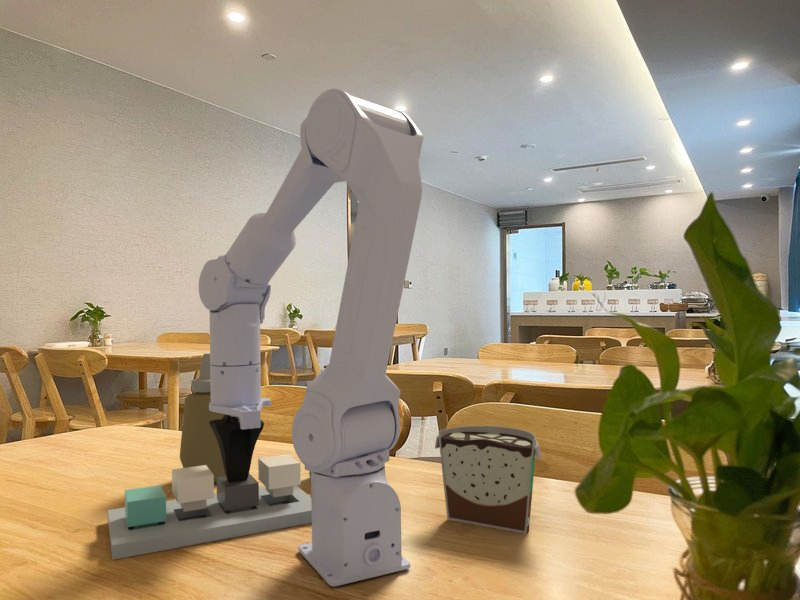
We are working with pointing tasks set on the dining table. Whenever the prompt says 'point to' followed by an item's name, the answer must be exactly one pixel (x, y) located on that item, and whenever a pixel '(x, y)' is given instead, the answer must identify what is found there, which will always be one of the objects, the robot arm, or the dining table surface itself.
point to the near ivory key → (279, 474)
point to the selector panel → (207, 523)
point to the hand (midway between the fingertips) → (237, 480)
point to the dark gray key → (237, 494)
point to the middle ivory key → (192, 487)
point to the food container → (488, 475)
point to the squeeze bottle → (200, 426)
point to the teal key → (145, 506)
